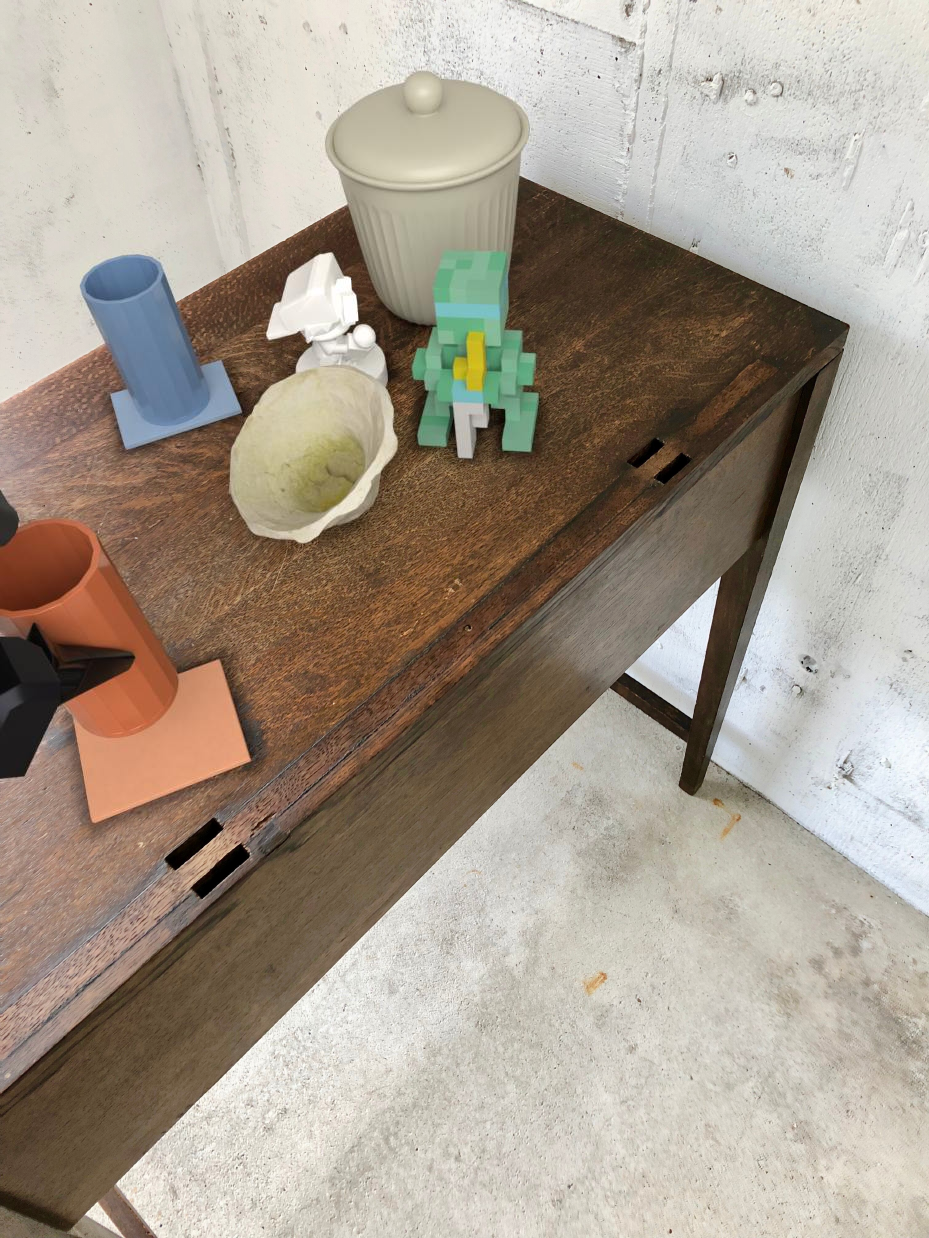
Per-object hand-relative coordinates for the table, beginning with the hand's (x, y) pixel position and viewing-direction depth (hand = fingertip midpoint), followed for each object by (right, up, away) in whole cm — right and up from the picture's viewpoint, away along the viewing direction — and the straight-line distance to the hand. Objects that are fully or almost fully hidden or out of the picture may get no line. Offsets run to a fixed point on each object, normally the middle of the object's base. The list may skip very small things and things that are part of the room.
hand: (107, 622), depth 52 cm
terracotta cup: (-1, -5, +5) cm, 7 cm away
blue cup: (-6, +21, +31) cm, 37 cm away
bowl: (+10, +10, +22) cm, 26 cm away
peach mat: (0, -8, +10) cm, 13 cm away
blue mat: (-6, +20, +31) cm, 38 cm away
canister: (+19, +34, +38) cm, 54 cm away
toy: (+23, +18, +27) cm, 40 cm away
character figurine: (+9, +23, +31) cm, 40 cm away
